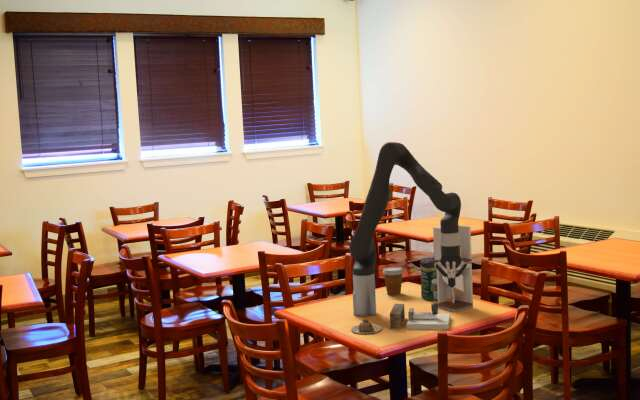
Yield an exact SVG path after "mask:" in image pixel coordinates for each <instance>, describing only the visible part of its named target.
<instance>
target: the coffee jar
mask: <svg viewBox="0 0 640 400" xmlns="http://www.w3.org/2000/svg"><path fill="white" fill-rule="evenodd" d="M419 263H420V264H419V266H420V267H419V268H420V279H421V280H420V283H421V284H420V290H421V294H420V295H421V298H422V299H424V300H426V301H433V302H436V301H438V294H437V268H436V267H435V264H434V258H432V257H431V256H430V257H429V256H428V257H424V258H421V260H420V261H419Z"/></svg>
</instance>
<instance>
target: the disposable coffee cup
mask: <svg viewBox="0 0 640 400" xmlns="http://www.w3.org/2000/svg"><path fill="white" fill-rule="evenodd" d="M382 273H383V275H384V278H383V279H384V282H385V290H386V295H387V296H393V297H394V296H399V295H401V293H402V284H403V283H402V279H403V273H404V270H403V268H402V267H399V266H388V267H385V268H383V270H382Z"/></svg>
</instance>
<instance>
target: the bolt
mask: <svg viewBox="0 0 640 400" xmlns="http://www.w3.org/2000/svg"><path fill="white" fill-rule="evenodd" d="M430 307H431V309H430V310H431V312H427V311H426V312H425V311H424V312H422V311H421V312H419V311H417V312H415V311H414V312H413V314H412V315H413V319H436V317H437V314H438V313H439V309H438V302H432V303H431V305H430Z"/></svg>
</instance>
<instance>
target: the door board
mask: <svg viewBox="0 0 640 400" xmlns="http://www.w3.org/2000/svg"><path fill="white" fill-rule="evenodd" d="M408 309H409V310H408V320H407V322H406V330H449V329H450V328H449V326H450V321H451V313H439V312H438V314H437V317H436V319H413V315H412V314H413V312H415V310H414V307H409V308H408Z"/></svg>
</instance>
